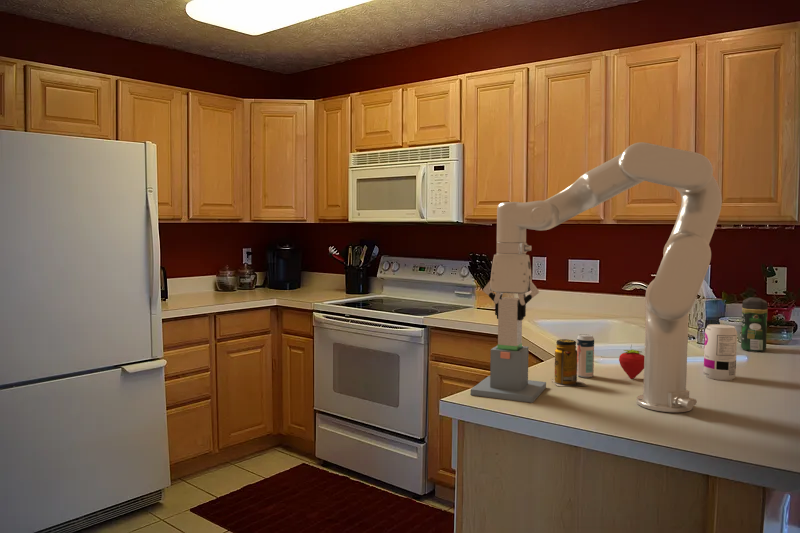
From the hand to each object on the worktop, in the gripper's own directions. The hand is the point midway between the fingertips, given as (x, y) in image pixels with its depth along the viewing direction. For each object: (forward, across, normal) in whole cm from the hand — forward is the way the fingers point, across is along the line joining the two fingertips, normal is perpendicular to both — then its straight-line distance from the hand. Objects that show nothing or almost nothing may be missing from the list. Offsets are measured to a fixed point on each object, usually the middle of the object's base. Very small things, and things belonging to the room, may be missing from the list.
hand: (510, 318), depth 161 cm
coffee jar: (+20, -64, -92) cm, 113 cm away
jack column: (+12, 0, 0) cm, 12 cm away
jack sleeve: (+19, 0, 0) cm, 19 cm away
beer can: (+20, -16, -26) cm, 36 cm away
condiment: (+20, -13, -16) cm, 28 cm away
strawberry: (+20, -28, -28) cm, 45 cm away
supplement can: (+20, -51, -41) cm, 68 cm away
